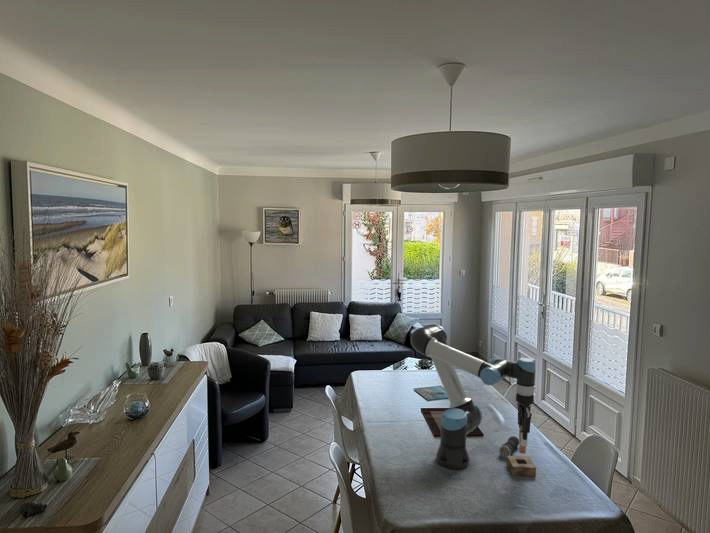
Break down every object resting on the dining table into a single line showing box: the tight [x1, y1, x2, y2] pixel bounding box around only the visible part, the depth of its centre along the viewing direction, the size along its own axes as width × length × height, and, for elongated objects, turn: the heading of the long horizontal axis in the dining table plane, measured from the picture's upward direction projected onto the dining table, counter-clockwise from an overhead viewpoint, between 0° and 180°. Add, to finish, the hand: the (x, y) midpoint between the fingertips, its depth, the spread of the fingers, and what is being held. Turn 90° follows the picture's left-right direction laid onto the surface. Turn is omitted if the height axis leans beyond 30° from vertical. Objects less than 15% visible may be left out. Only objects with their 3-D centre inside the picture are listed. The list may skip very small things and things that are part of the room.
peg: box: [518, 425, 527, 455], centre depth 213 cm, size 3×3×12 cm
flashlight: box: [498, 435, 519, 459], centre depth 233 cm, size 15×5×5 cm, turn 144°
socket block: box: [506, 455, 537, 477], centre depth 214 cm, size 10×10×4 cm
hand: (522, 444), depth 213 cm, fingers closed on peg, 2 cm apart
